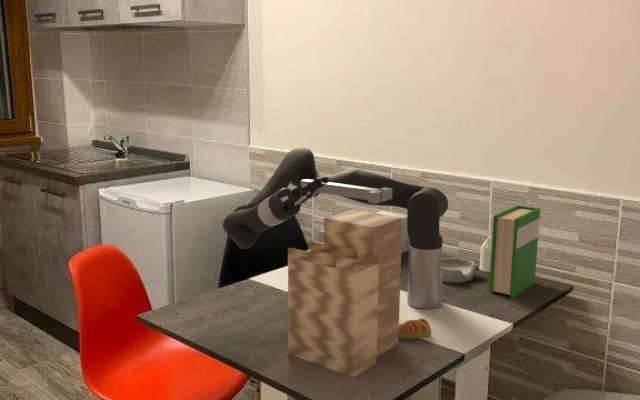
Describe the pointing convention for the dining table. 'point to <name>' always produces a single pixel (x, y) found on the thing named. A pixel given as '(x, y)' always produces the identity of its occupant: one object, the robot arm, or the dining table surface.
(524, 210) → the hardback book
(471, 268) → the dish
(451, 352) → the dining table surface
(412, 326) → the pastry
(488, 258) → the white bottle
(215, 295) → the dining table surface
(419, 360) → the dining table surface
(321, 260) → the stand
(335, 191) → the t handle
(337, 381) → the dining table surface
